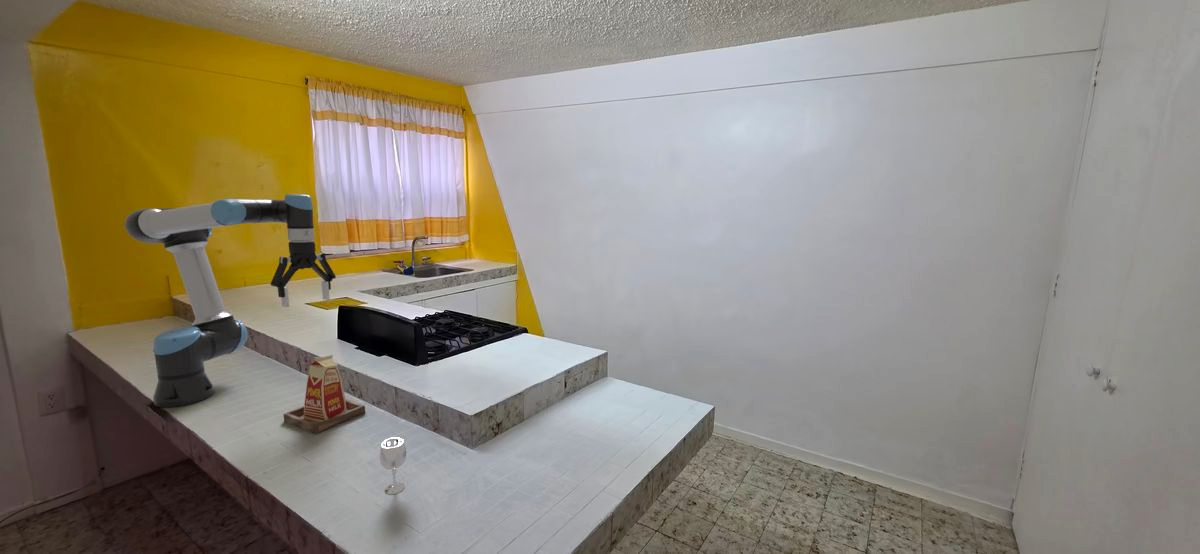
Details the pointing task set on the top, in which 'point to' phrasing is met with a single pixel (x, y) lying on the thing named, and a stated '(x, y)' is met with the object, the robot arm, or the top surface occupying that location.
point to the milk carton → (324, 391)
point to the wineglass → (393, 461)
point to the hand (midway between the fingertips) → (306, 302)
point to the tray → (316, 427)
